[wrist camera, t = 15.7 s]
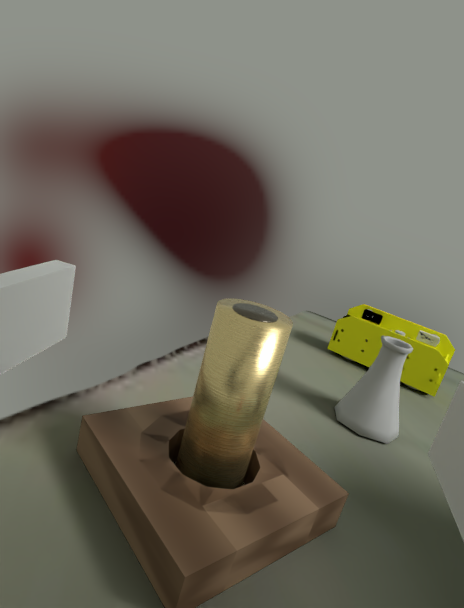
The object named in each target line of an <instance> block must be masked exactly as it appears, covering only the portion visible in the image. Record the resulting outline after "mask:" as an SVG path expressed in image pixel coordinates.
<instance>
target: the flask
mask: <svg viewBox="0 0 464 608" xmlns="http://www.w3.org/2000/svg"><path fill="white" fill-rule="evenodd" d="M381 342H382V347H381V349H380V352H379V354H378V356H377V358H376V359H375V361H374V362H373V364H372V366H371V367H370V369H369V370H368V371H367V372H366V373H365V374H364V375H363V377H362V378H361V379H360V380H359V381H358V382H357V383H356V385H355V386H354V387H353V388H352V389H351V390H350V391H349V392H348V393H347V394H346V395H345V396H344V397H343V398H342V399H341V400H340V401H339V402H338V404H337V405H336V406H335V412H336V418H337V420H338V421H339V422H341V423H342V424H344V425H345V426H347V427H348V428H350V429H351V430H353V431H354V432H356V433H358V434H359V435H361V436H364V437H367V438H371V439H374V440H377V441H380V442H383V443H387V444H388V443H389V442H391V441H392V440H394V439H395V438H397V437H398V436H399V391H400V378H401V374H402V369H403V364H404V362H405V359H406V357H407V355H408V354H409V353H411V352H412V351H413V348H412V346H411V345H410V344H408V343H406V342H404V341H402V340H400V339H396V338H393V337H390V336H384V337H382V339H381Z"/></svg>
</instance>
